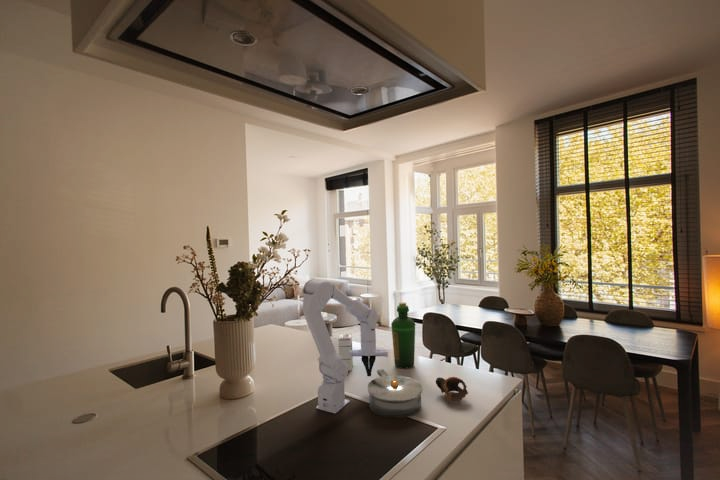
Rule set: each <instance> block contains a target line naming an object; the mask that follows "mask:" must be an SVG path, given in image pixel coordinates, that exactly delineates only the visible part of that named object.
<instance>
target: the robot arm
mask: <svg viewBox="0 0 720 480" xmlns="http://www.w3.org/2000/svg"><path fill="white" fill-rule="evenodd" d="M301 294H302V297H303V298H302V312H303V315H304V319H305V321H306V323H307V325H308V329H309V331H310V334H311V337H312V338H313V341H314V344H315V346H316V349H317V351H318V353H319V356H318V358H317V361H318V370H319V372H320V374H321V375H322V380H323V381H322V383H321V385H320V386H319V387H318V389H317V406H316V407H315V409H317V410H321V411H324V412H328V413H332V414H336V413H338V412H339V411H340V410H342V409H343V408H344V407H346V405H347V404H349V403H350V402H351V400H349V399H346V398H345V397H346V395H345V380H346V379H347V376H348V374H349V371H348V366H347V364H346V363H344V362H343V360H342V358H341V356H340V355H339V352H337V351H336V349H335V346H334V344H333V340H332V337H331V336H330V332H329V331H328V327H327V325H326V323H325V319H324V317H323V315H322V310H323V309H324V307H325V306H326V305H327V304H328V302H330V300H331V299H333V300H334V301H336V302H338V303H339V304H341V305H343V306H344V307H345V311H346V312H347V313H349V314H351V315H352V316H353V317H355V318H356V319H357V321H358V322H360V323H359V324H360V326H359V327H360V329H359V330H360V349H352V350H350V352H349V357H352V356H353V357H361V362H362V364H363V367H364V369H365V372H366V376H367V377H372V370H373V367H374V365H375V362H376V357H384V358H389V350H387V349H377V340H376V339H377V337H376V333H377V332H376V328H377V323H378V320H379V314H378V312H377V310H376V309H375V308H371V307H369V305H368V304H367V303H364V302H362V301H361V298H359V297H352V298H351V297H349V296H348V295H347V294H346V293H344V292H343V291H342V290H341V289H339V288H338V287H337V286H336V285H335V284H332V283H331V282H329V281H327V280H326V281H322V280H321V281H320V280H315V279H309V280H307V281H306V282H305V283H304V285H303V287H302V289H301Z"/></svg>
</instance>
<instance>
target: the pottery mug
mask: <svg viewBox="0 0 720 480" xmlns="http://www.w3.org/2000/svg"><path fill="white" fill-rule="evenodd" d="M435 384H436V386H437V388H439V390H440V391H441V393H442V394H443V393H444V394H445V395H446V397H445V401H446V402H447V403H448V404H450V403H451V402H458V401H461V400H463V399H465V397H466V396H467V395H468V394H469V391H468V390H467V385H466V382H465V381H464V380H462V379H461V378H460V377H456V376H450V377H448V378H445V379H444V378H443V377H437V378H436V379H435ZM459 384H461V385H462V387H463V388H461V387H460V385H459Z"/></svg>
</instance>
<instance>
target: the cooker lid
mask: <svg viewBox="0 0 720 480" xmlns="http://www.w3.org/2000/svg"><path fill="white" fill-rule="evenodd" d="M376 373H377V374H378V376H379V377H376V378H374V379H372V380H371V381H370V382H368V384H367V392H368V394H370V395H371V396H372V397H374V398H376V399H378V400H381V401H386V402H406V401H410V400H413V399H415V398H417V397H419V396H420V395H421V396H422V393H423V386H422V384H421V382H420V381H418V380H417V379H415V378H412V377H410V376H405V375H397V374H396V375H390V374H388V372H386V370H384V369H377V371H376Z"/></svg>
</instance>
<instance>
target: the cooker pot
mask: <svg viewBox="0 0 720 480" xmlns="http://www.w3.org/2000/svg"><path fill="white" fill-rule="evenodd" d="M368 394H369V393H368ZM368 397H369V408H370V410H371V412H372V413H374V414H375V415H378V416H380V417H384V418H388V419H405V418H409V417H413V416H415V415H417V414H418V413H419V412H420V411H421V409H422V394H421V395H420V396H419V397H417V398H415V399H413V400H410V401H406V402H386V401H381V400H378V399H376V398H374V397H372V396H371V395H370V394H369V395H368Z"/></svg>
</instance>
